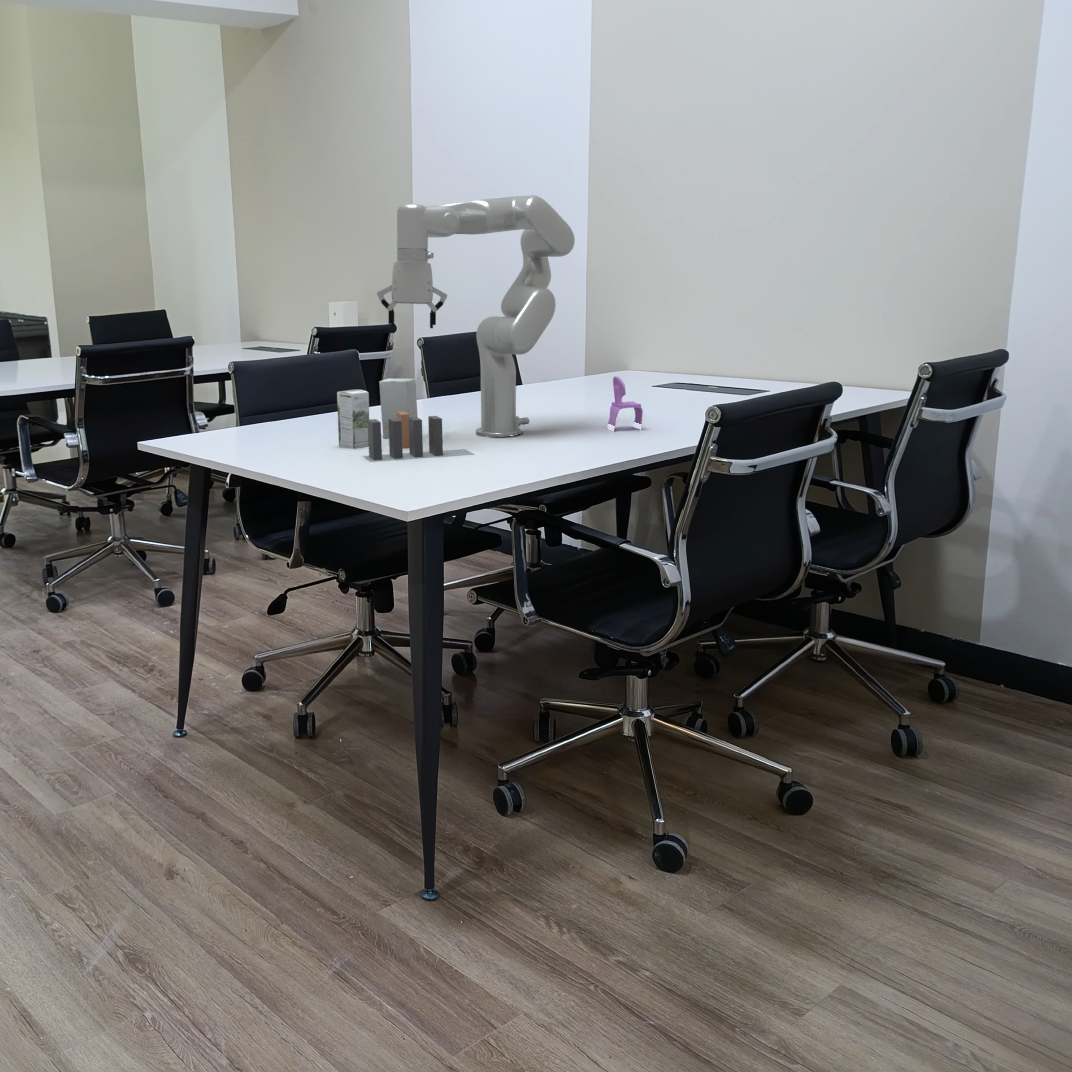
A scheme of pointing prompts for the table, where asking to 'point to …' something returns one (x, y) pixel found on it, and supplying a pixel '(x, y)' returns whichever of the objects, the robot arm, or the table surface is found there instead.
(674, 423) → the table surface
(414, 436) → the domino
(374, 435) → the domino
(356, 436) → the syrup box
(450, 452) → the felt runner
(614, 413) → the toy chair
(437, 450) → the domino
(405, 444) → the domino
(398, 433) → the domino
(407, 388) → the skincare box
